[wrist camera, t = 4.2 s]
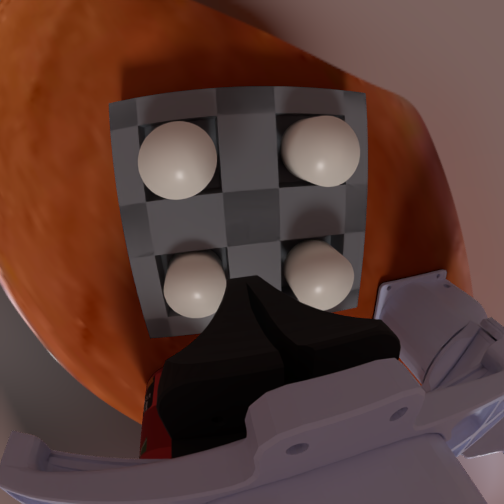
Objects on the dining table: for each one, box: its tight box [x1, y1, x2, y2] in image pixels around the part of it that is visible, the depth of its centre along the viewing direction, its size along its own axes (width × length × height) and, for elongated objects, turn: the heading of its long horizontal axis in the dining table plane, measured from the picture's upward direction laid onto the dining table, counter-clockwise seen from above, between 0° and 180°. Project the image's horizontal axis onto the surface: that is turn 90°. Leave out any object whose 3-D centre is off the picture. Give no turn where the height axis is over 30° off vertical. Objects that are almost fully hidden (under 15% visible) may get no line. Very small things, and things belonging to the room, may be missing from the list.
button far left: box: [164, 249, 226, 318], centre depth 19 cm, size 4×4×3 cm
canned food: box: [139, 368, 171, 459], centre depth 21 cm, size 8×8×11 cm
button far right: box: [283, 239, 354, 311], centre depth 19 cm, size 4×4×3 cm
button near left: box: [138, 121, 217, 200], centre depth 15 cm, size 4×4×3 cm
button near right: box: [280, 116, 360, 187], centre depth 16 cm, size 4×4×3 cm
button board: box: [109, 86, 368, 338], centre depth 19 cm, size 16×16×3 cm
